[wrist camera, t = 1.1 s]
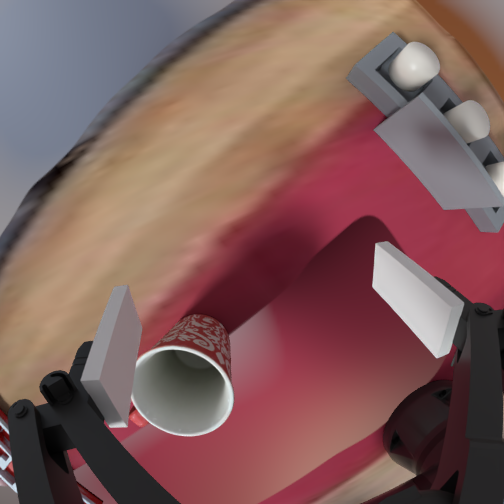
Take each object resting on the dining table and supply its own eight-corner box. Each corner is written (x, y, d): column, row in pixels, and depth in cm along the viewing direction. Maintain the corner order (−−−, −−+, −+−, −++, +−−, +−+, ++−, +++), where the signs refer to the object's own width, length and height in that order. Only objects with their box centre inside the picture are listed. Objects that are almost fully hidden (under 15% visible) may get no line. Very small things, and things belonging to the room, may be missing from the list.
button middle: (471, 132, 32) (494, 123, 27) (457, 153, 32) (480, 145, 28) (449, 105, 32) (471, 93, 27) (433, 125, 32) (455, 114, 27)
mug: (203, 289, 37) (179, 323, 24) (253, 346, 38) (256, 403, 24) (131, 350, 38) (86, 400, 24) (179, 400, 38) (155, 465, 25)
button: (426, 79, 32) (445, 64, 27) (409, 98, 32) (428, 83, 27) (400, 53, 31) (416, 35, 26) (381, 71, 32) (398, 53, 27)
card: (447, 204, 37) (507, 199, 25) (443, 209, 37) (503, 206, 25) (378, 124, 36) (423, 90, 24) (373, 129, 36) (418, 96, 24)
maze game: (-36, 422, 39) (-43, 428, 36) (-18, 381, 38) (-28, 387, 35) (81, 531, 42) (77, 539, 38) (123, 512, 41) (118, 522, 38)
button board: (505, 189, 37) (522, 187, 33) (480, 231, 37) (497, 232, 33) (382, 45, 35) (393, 31, 31) (345, 78, 35) (354, 64, 31)
